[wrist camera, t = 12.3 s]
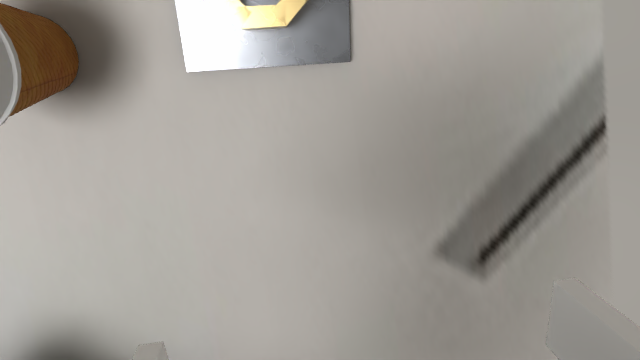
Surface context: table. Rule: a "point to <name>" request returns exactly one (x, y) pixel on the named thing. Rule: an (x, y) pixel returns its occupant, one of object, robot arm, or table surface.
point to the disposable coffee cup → (32, 60)
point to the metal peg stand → (263, 37)
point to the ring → (260, 13)
